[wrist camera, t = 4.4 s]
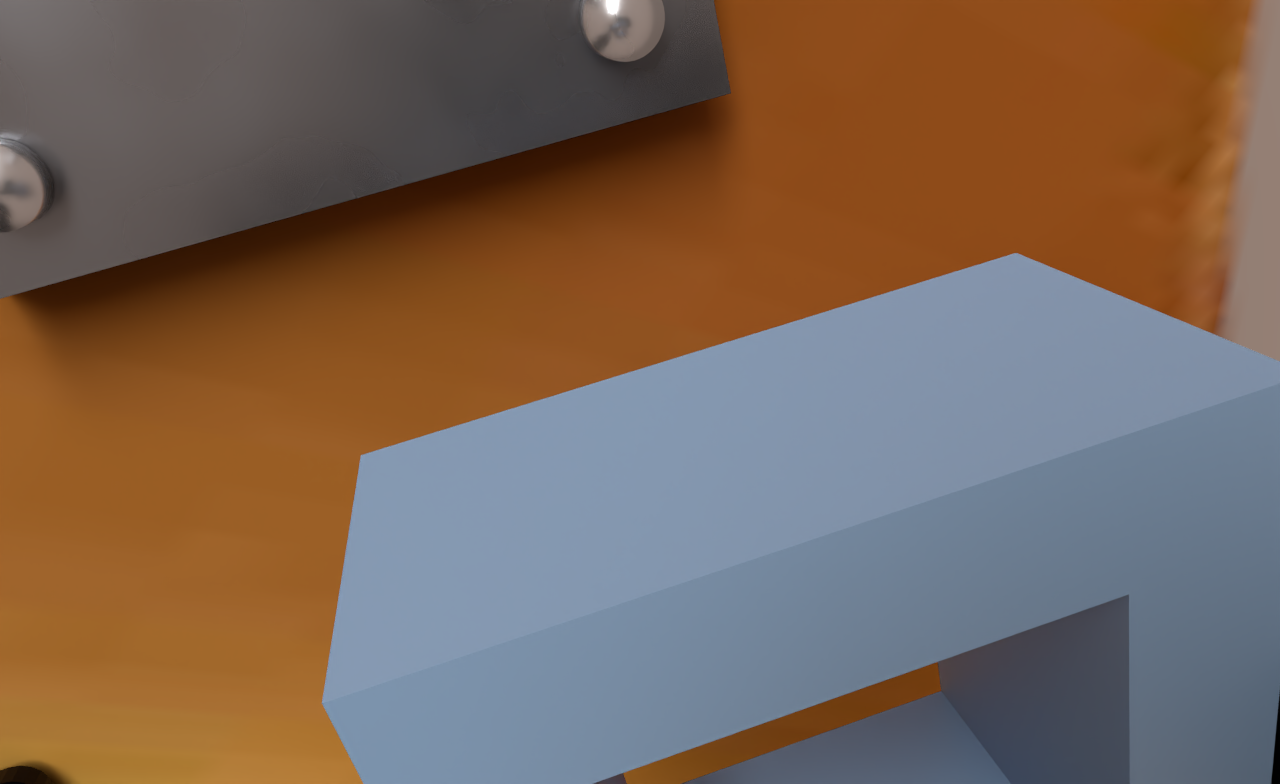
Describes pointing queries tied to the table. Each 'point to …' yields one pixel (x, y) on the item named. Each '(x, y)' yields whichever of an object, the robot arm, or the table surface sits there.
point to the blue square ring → (839, 556)
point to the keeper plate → (299, 107)
